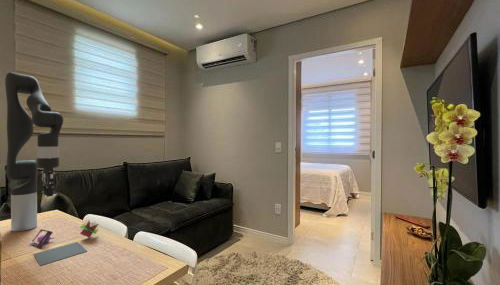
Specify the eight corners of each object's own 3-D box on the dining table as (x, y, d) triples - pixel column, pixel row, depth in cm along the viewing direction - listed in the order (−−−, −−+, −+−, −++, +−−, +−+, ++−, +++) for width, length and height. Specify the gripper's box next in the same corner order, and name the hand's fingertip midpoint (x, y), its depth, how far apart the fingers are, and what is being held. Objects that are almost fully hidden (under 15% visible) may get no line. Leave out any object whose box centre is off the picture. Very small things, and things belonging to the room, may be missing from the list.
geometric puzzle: (77, 241, 101) (77, 223, 101) (82, 235, 108) (82, 218, 108) (96, 239, 104) (96, 221, 104) (100, 233, 110) (100, 216, 110)
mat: (33, 254, 90) (33, 253, 90) (77, 242, 101) (77, 241, 101) (40, 265, 82) (40, 265, 82) (87, 251, 93) (87, 250, 93)
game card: (38, 247, 94) (27, 244, 98) (50, 251, 98) (39, 248, 102) (50, 230, 98) (39, 228, 102) (61, 235, 102) (50, 233, 106)
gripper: (33, 156, 106) (33, 194, 106) (40, 158, 97) (40, 199, 97) (55, 155, 112) (55, 191, 112) (63, 157, 103) (63, 196, 103)
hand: (48, 195), depth 105 cm, fingers open, 4 cm apart
